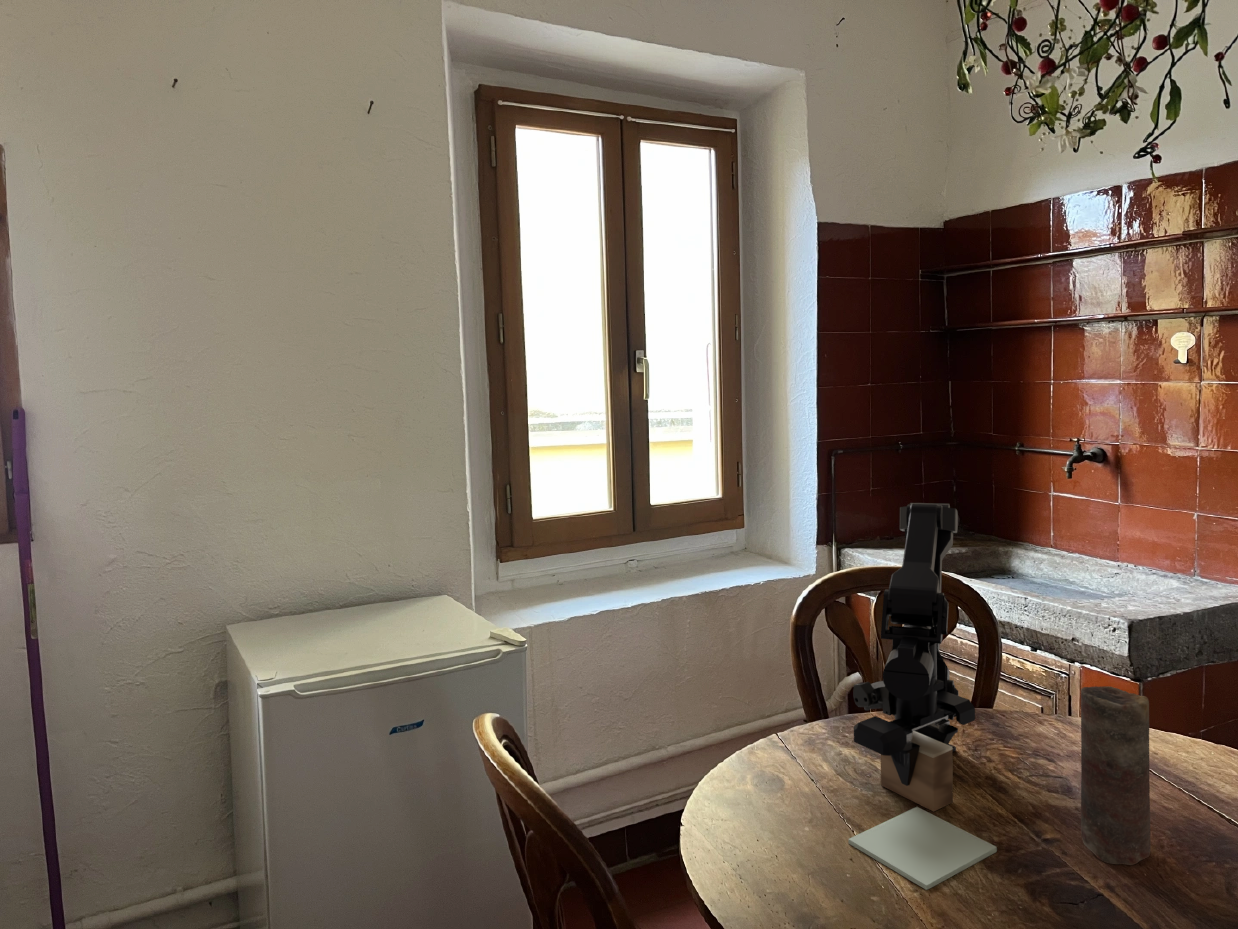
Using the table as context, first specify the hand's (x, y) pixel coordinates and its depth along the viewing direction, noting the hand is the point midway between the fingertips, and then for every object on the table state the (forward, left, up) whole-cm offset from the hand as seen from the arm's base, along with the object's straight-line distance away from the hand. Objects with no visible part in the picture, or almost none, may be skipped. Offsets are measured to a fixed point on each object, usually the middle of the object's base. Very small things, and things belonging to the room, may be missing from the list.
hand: (916, 779), depth 120 cm
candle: (-8, +23, -2) cm, 24 cm away
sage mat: (+10, +9, -2) cm, 14 cm away
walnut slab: (0, 0, -2) cm, 2 cm away
